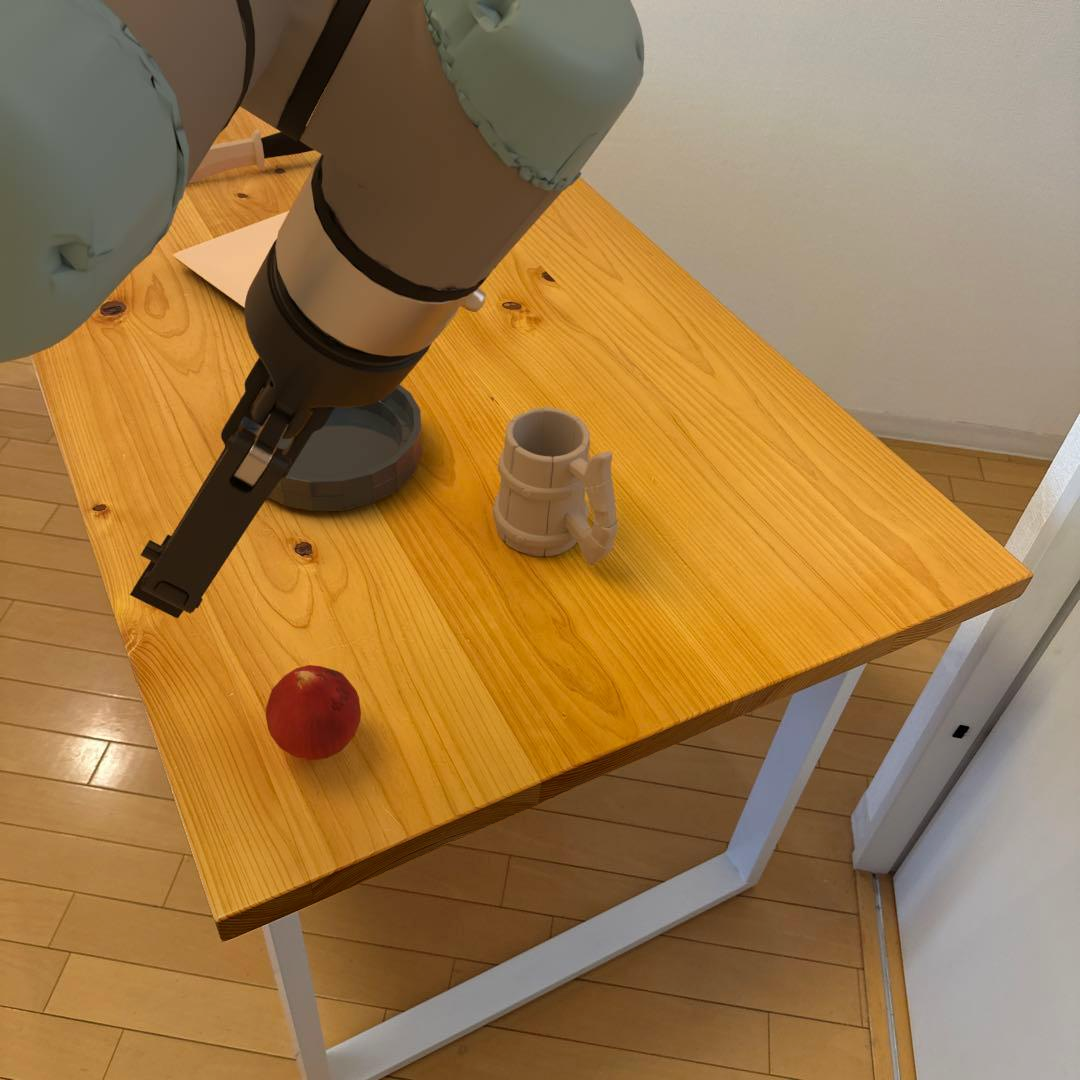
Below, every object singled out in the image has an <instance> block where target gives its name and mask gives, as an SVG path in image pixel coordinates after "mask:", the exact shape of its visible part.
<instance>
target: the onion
mask: <svg viewBox="0 0 1080 1080" xmlns="http://www.w3.org/2000/svg"><path fill="white" fill-rule="evenodd" d="M361 717H362V710H361V702H360V697H359V693H358V691H357V689H356V688H355V687H354V686H353V685H352V683H351V682H350V681H349V679H348V678H347V677H346V676H345V675H344V673H342V672H340V671H339V670H335V669H331V668H330V667H329V668H328V667H325V666H322V665H311V664H308V665H303V666H300V667H296V668H294V669H293V670H291V671H289V672H288V673H286V674H285V675H283V676H282V677H281V678H280V680H278V682H277V683H276V684H275V685H274V686H273V687H272V689H271V691H270V694H269V697H268V700H267V704H266V707H265V719H266V724H267V725H266V726H267V730H268V732H269V734H270V737H271V738H272V740H273V741H274V742H275V744H276V745H277V746H278V748H279V749H281V750H282V751H284V752H286V753H287V754H289V755H290V756H292V757H293V758H294V757H295V758H300V759H304V760H309V761H317V760H324V759H329V758H330V757H333V756H335V755H337V754H339V753H340V752H341V751H343V750H344V748H345V747H346V746H347V745H348V744H350V742H351V741H352V740H353V738H354V737H356V733H357V731H358V728H359V725H360V723H361Z"/></svg>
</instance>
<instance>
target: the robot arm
mask: <svg viewBox="0 0 1080 1080" xmlns="http://www.w3.org/2000/svg"><path fill="white" fill-rule="evenodd" d="M644 65H645V42H644V35H643V30H642V26H641V23H640V20H639V16H638V14H637V12H636V10H635V7H634V5H633V3H632V0H0V364H3V363H8V362H11V361H16V360H20V359H24V358H28V357H30V356H33V355H36V354H38V353H41V352H43V351H46V350H48V349H51V348H52V347H54V346H56V345H57V344H59V343H61V342H62V341H64V340H65V339H67V338H68V337H70V336H71V335H72V334H73V333H74V332H75V331H76V330H78V329H79V328H80V327H81V326H83V324H85V323H86V322H87V321H88V320H89V319H90V318H91V317H92V316H93V314H94V313H95V312H96V311H97V310H98V309H99V308H100V307H101V306H102V305H103V303H104V302H106V300H107V299H108V298H109V297H110V296H111V295H112V293H114V291H115V290H116V289H117V288H118V287H119V286H120V285H121V284H122V282H124V281H125V279H126V278H127V277H128V276H129V275H130V274H131V273H132V272H133V271H134V269H135V268H136V267H138V266H139V265H140V264H141V263H142V262H143V261H145V260H146V259H147V258H148V257H149V256H151V254H152V253H153V251H154V249H155V248H156V245H158V243H160V241H162V240H163V238H164V237H165V236H166V235H167V234H168V232H169V230H170V228H171V227H172V224H173V221H174V217H175V214H176V211H177V209H178V207H179V203H180V201H181V200H182V199H183V198H184V194H185V190H186V188H187V186H188V185H189V184H188V183H189V181H190V180H191V178H192V176H193V175H194V173H195V172H196V170H197V169H198V167H199V165H200V164H201V162H202V161H203V159H204V157H205V156H206V154H207V153H208V151H209V149H210V148H211V146H212V145H214V143H215V141H216V140H217V139H218V137H219V135H220V134H221V133H222V132H223V131H224V130H226V128H227V127H228V126H229V124H230V122H231V121H232V118H233V117H234V115H236V112H237V111H238V110H239V109H240V108H241V109H243V110H245V111H246V112H248V113H249V114H251V115H253V116H254V117H256V118H258V119H259V120H261V121H263V122H264V123H265V124H267V125H269V126H270V127H272V128H274V129H275V130H277V131H278V132H282V133H284V134H285V135H287V136H289V137H290V138H292V139H293V140H295V141H298V139H299V138H300V137H301V138H300V140H299V141H301V142H303V143H304V144H306V145H307V146H309V147H310V148H312V149H313V150H314V151H315V152H317V153H319V154H320V155H319V156H318V158H317V159H316V160H315V162H314V163H313V165H312V167H311V169H310V171H309V173H308V175H307V177H306V178H305V181H304V183H303V184H302V186H301V188H300V190H299V192H298V194H297V195H296V198H295V199H294V201H293V203H292V205H291V206H290V208H289V210H288V211H289V213H288V214H287V216H286V218H285V220H284V222H283V224H282V226H281V228H280V229H279V231H278V236H277V239H276V240H275V241H274V243H273V245H272V247H271V249H270V250H269V252H268V254H267V256H266V258H265V260H264V261H263V263H262V265H261V267H260V269H259V271H258V272H257V274H256V276H255V278H254V280H253V282H252V283H251V285H250V287H249V290H248V292H247V296H246V300H245V309H244V322H245V323H244V324H245V328H246V332H247V335H248V338H249V341H250V342H251V345H252V347H253V349H254V351H255V353H256V355H257V356H258V358H257V359H256V361H255V363H254V365H253V367H252V368H251V370H250V372H249V373H248V375H247V377H246V379H245V380H244V381H245V382H244V393H243V394H242V396H241V398H240V399H239V401H238V403H237V405H236V406H235V408H233V409H234V410H233V411H232V413H230V416H229V418H228V419H227V421H226V423H225V424H224V426H223V428H222V430H221V432H220V438H221V441H222V442H223V444H224V448H223V450H222V451H221V453H220V455H219V456H218V457H217V460H215V463H214V465H213V466H212V468H211V470H210V471H209V473H208V475H207V476H206V478H205V480H204V481H203V482H202V485H201V486H200V488H199V490H198V491H197V493H196V494H195V496H194V497H193V499H192V501H191V503H190V504H189V506H188V507H187V508H186V511H185V513H184V514H183V516H182V517H181V519H180V521H179V522H178V524H177V526H176V527H175V529H174V530H173V532H172V534H171V535H170V534H167V535H166V537H165V538H164V540H163V541H162V543H161V545H160V544H159V543H157V542H155V541H153V540H151V539H148V542H147V543H146V545H145V546H144V548H143V550H142V551H141V553H140V557H143V558H144V559H147V560H148V561H150V562H149V563H148V564H147V566H146V568H145V569H144V571H143V572H142V573H141V575H140V577H139V579H138V580H137V581H136V583H135V585H134V586H133V588H132V590H131V591H130V593H129V596H131V597H133V598H135V599H137V600H139V601H141V602H143V603H144V604H147V605H149V606H151V607H153V608H155V609H157V610H158V611H161V612H163V613H165V614H167V615H169V616H171V617H173V618H175V619H179V617H181V615H182V614H183V613H184V612H186V613H188V614H190V615H191V614H192V613H194V612H195V611H196V609H199V608H200V605H201V604H202V602H203V600H204V599H203V596H204V595H205V593H206V592H207V590H208V588H209V587H210V586H211V584H212V583H213V581H214V579H215V578H216V576H217V575H218V573H219V572H220V570H221V569H222V567H223V566H224V564H225V563H226V561H227V560H228V558H229V557H230V555H231V553H232V552H233V550H234V549H235V547H236V546H237V545H238V542H239V541H240V540H241V538H242V537H243V535H244V534H245V532H246V531H247V529H248V528H249V526H250V525H251V523H252V522H253V520H254V519H255V517H256V516H257V514H258V512H259V511H260V509H261V508H262V506H263V505H264V503H265V502H266V500H267V499H268V496H269V495H270V493H271V492H272V491H273V489H274V488H275V487H276V485H277V484H278V482H279V481H280V480H281V479H282V478H284V479H285V477H286V476H287V474H288V473H289V471H290V468H291V467H292V465H293V464H294V462H295V460H296V459H297V457H298V456H299V454H300V452H301V451H302V449H303V448H304V446H305V444H306V443H307V441H308V440H309V438H310V436H311V435H312V433H313V432H315V431H317V430H319V429H321V428H322V427H323V426H324V425H325V423H326V421H327V420H328V418H329V417H330V415H331V414H332V412H333V410H334V409H335V407H349V408H351V407H361V406H366V405H370V404H373V403H376V402H378V401H380V400H382V399H384V398H385V397H387V396H388V395H390V394H391V393H392V392H393V391H394V390H395V389H396V388H397V387H398V386H399V385H401V384H402V383H403V381H404V380H405V379H406V378H407V376H408V375H409V374H410V373H411V372H412V370H413V369H414V368H415V367H416V366H417V365H418V364H419V362H420V361H421V360H422V359H423V357H424V356H425V355H426V353H428V351H429V349H430V348H431V346H432V343H433V342H434V341H435V340H437V338H438V337H439V336H440V335H441V334H442V333H443V332H444V330H445V329H446V328H447V326H449V324H450V323H451V322H452V321H453V319H454V318H455V317H456V315H457V313H458V311H459V309H460V308H461V307H462V308H464V309H465V310H466V311H469V312H472V313H478V311H480V310H481V309H482V308H483V307H484V304H485V302H486V296H487V295H486V294H487V293H486V292H485V291H484V290H482V289H481V288H480V287H481V286H482V285H483V284H484V283H485V281H486V280H487V279H488V278H489V276H490V275H491V274H492V272H493V271H494V270H495V269H496V268H497V267H498V266H499V264H500V263H502V261H503V259H504V258H505V257H506V256H507V255H508V254H509V253H510V252H511V251H512V249H514V247H515V246H516V245H517V244H518V243H519V241H520V240H521V239H522V238H523V237H524V236H525V235H526V234H527V232H528V231H529V230H530V229H531V228H532V227H533V226H534V225H535V224H536V222H537V221H538V220H539V219H540V217H542V215H544V214H545V212H546V211H547V210H548V209H549V207H550V206H551V205H553V203H554V202H555V201H556V200H557V198H559V196H560V195H561V194H562V193H563V192H564V191H566V190H567V189H568V188H569V187H571V186H573V185H574V183H576V182H577V180H578V179H579V178H580V177H581V176H582V172H581V171H582V170H583V168H584V167H585V165H586V164H587V162H588V161H589V160H590V158H591V157H592V155H593V154H594V153H595V151H596V150H597V148H599V146H600V145H601V143H602V141H603V140H604V139H605V138H606V136H607V135H608V134H609V132H610V131H611V130H612V128H613V126H614V125H615V124H616V122H617V121H618V119H619V118H620V117H621V115H622V114H623V112H624V111H625V110H626V108H627V107H628V105H629V104H630V103H631V101H632V99H633V98H634V96H635V94H636V92H637V90H638V88H639V87H640V85H641V82H642V80H643V77H644V73H645V72H644ZM305 127H306V128H305ZM301 135H302V136H301ZM244 416H245V417H247V418H248V419H250V420H252V421H254V422H255V423H257V424H259V425H260V426H261V428H260V430H259V431H258V433H257V435H255V434H254V433H252V432H250V431H248V430H247V429H245V428H244V427H243V426H242V424H241V421H242V419H243V418H244ZM282 438H284V439H290V438H294V439H293V440H292V442H291V444H290V445H289V447H287V448H286V449H280V448H278V447H277V446H278V444H279V443H280V441H281V439H282Z"/></svg>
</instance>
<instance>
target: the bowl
mask: <svg viewBox="0 0 1080 1080" xmlns="http://www.w3.org/2000/svg"><path fill="white" fill-rule="evenodd" d="M241 424H242V426H243V427H244V428H245V429H247V430H248V431H250V432H252V433H254V434H255V435H257V433H258V431H259V430H260V428H261V426H260V425H259V424H257V423H255V422H254V421H252V420H250V419H248V418H247V417H245V416H244V418H243V419H242V421H241ZM293 439H294V438H290V439H284V438H282V439H281V441H280V443H279V444H278V446H277V447H278V448H280V449H286V448H287V447H289V445H290V444H291V442H292V440H293ZM422 439H423V437H422V411H421V409H420V406H419V405H418V402H416V400H415V398H414V396H413V395H412V393H411V392H410V391H409V390H408V389H406V388H405V387H404V386H402V385H401V384H400V385H399V386H398V387H397V388H396V389H395V390H394V391H393V392H392V393H391V394H390V395H388V396H387V397H385V398H384V399H382V400H380V401H378V402H376V403H373V404H370V405H366V406H361V407H351V408H349V407H335V409H334V410H333V412H332V414H331V415H330V417H329V418H328V420H327V421H326V423H325V425H324V426H323V427H322V428H321V429H319V430H317V431H315V432H313V433H312V435H311V436H310V438H309V440H308V441H307V443H306V444H305V446H304V448H303V449H302V451H301V452H300V454H299V456H298V457H297V459H296V460H295V462H294V464H293V465H292V467H291V468H290V471H289V473H288V474H287V476H286V477H285V479H284V478H282V479H281V480H280V481H279V482H278V484H277V485H276V487H275V488H274V489H273V491H272V492H271V493H270V495H269V496H268V497H267V499H268V498H269V499H270V500H272V501H275V502H276V503H278V504H280V505H283V506H285V507H289V508H295V509H300V510H305V511H311V512H334V511H337V512H338V511H339V512H340V511H347V510H352V509H356V508H359V507H363V506H367V505H371V504H374V503H376V502H378V501H380V500H381V499H384V498H386V497H388V496H389V495H391V494H393V493H395V492H397V491H398V490H400V488H402V487H403V485H405V484H406V483H407V481H409V480H410V479H411V478H412V477H413V476H414V474H415V473H416V470H417V468H418V465H419V464H420V461H421V459H422V457H423V442H422Z"/></svg>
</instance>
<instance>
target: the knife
mask: <svg viewBox="0 0 1080 1080" xmlns="http://www.w3.org/2000/svg"><path fill="white" fill-rule="evenodd" d="M305 128H306V127H305ZM301 136H302V135H301ZM300 138H301V137H300ZM300 138H299V139H298V141H295V140H293V139H292V138H290V137H289V136H287V135H285V134H284V133H282V132H280V131H278V132H276V133H273V134H270V135H266V136H263V137H261V131H260V129H259V128H258V129H254V130H253V131H252V133H251V136H250V137H248V138H243V139H237V140H236V139H235V140H232V141H225V142H221V143H215V144H214V143H213V145H212V146H211V148H210V149H209V151H208V153H207V154H206V156H205V157H204V159H203V161H202V162H201V164H200V165H199V167H198V169H197V170H196V172H195V173H194V175H193V176H192V178H191V180H190V181H189V183H188V184H187V185H189V184H193V183H196V182H200V181H201V180H202V181H203V180H204V179H206V178H209V177H211V176H214V175H217V174H221V173H224V172H227V171H232V170H236V169H241V168H247V167H251V166H257V168H258V169H259V170H260V171H262V172H264V171H266V168H265V159H272V158H278V157H286V156H292V155H300V154H303V153H308V152H314V151H315V150H313V149H312V148H310V147H309V146H307V145H306V144H304V143H303V142H301V141H299V140H300Z"/></svg>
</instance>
